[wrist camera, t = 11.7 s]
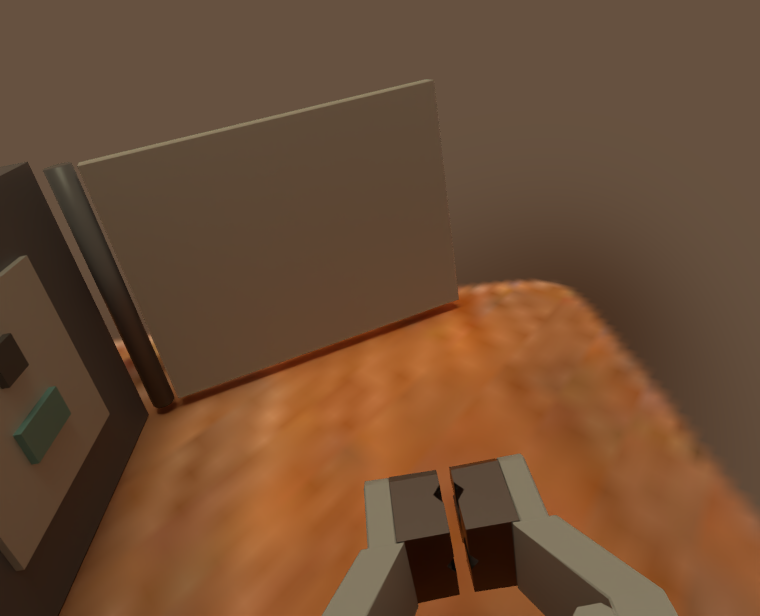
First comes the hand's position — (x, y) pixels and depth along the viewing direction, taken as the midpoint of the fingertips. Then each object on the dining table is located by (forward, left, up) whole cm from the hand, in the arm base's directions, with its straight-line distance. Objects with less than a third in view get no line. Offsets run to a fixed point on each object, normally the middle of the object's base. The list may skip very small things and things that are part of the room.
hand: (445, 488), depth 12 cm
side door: (-10, +13, -6) cm, 17 cm away
